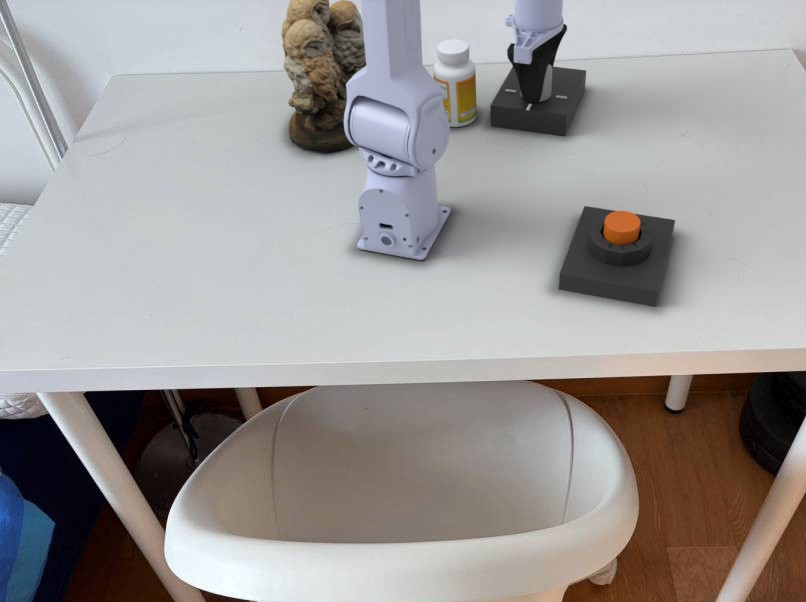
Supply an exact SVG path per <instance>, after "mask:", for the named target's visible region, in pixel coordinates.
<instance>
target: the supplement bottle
mask: <svg viewBox="0 0 806 602" xmlns="http://www.w3.org/2000/svg"><path fill="white" fill-rule="evenodd" d="M436 49H437V51H436V53H437V59H438V60H437V61H436V62H435V63H434V64H433V68H432V70H433V71H432V72H433V79H434V80H435V81H436V83H437V84H438V85H439V86H440V88H441V89H442V91H443V105H444V109H445V112H446V114H447V116H448V120H449V127H450V128H459V127H465V126H468V125H470V124H472V123H474V121H475V120H476V118H477V115H478V110H477V109H478V107H477V78H476V65H475V63H474V61H473V60H472V59H471V58H470V45H469V43H468V42H467V41H465V40H463V39H459V38H458V39H457V38H456V39H447V40H443V41H441V42H439V44H438V45H437V47H436Z"/></svg>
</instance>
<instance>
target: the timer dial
mask: <svg viewBox="0 0 806 602" xmlns="http://www.w3.org/2000/svg"><path fill="white" fill-rule="evenodd" d="M551 88H552V66H551V65H550V64H549V65H548V68H547V71H546V75H545V79H544V85H543V91H542V95H541V98H540V101H544V100H547V99H548V98H550V96H551ZM520 95H521V90H520ZM521 97H522V95H521ZM540 101H539V102H540Z"/></svg>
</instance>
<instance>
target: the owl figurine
mask: <svg viewBox="0 0 806 602" xmlns="http://www.w3.org/2000/svg"><path fill="white" fill-rule="evenodd" d="M280 34H281V38H282V39H281V40H282V48H283V52H284V60H283V69H284V70H285V71H286V74H287V76H288V78H289V79H290V81H291V82H292V84H293V88H294V91H293V92H292V94H291V97H290V98H289V99H288V101H287V103H288V106H290V107H291V108H294V109H295V111H294V113H293V114H292V116H291V117H290V119H289V122H288V136H289V138H290V140H291V142H292V143H293V144H295V145H296V146H297V147H298V148H299V149H300V148H302V149H309V150H314V151H315V150H316V151H319V152H327V153H329V152H336V151H341V150H344V149H345V150H346V149H348V148H350V147H352V146H354V145H353V144H352V143H351V142H350V141H349V140H348V138H347V136H346V134H345V130H344V113H345V109H346V104H347V89H346V84H347V82H348V81H349V80H350V79H351V78H352V76H353V75H354V74H355V73H357V72H358V71H359V70H361V69H362V68H364V67H365V66H366V55H365V43H364V32H363V20H362V14H361V13H360V12H359V9H358V7H357V6H356V4H355V3H354V2H353V1H350V0H338V1H336V2H334V3H332V4H331V5H330V0H289V3H288V6H287V9H286V17H285V18H284V20H283V22H282V26H281V33H280ZM320 109H321V111H320Z"/></svg>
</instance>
